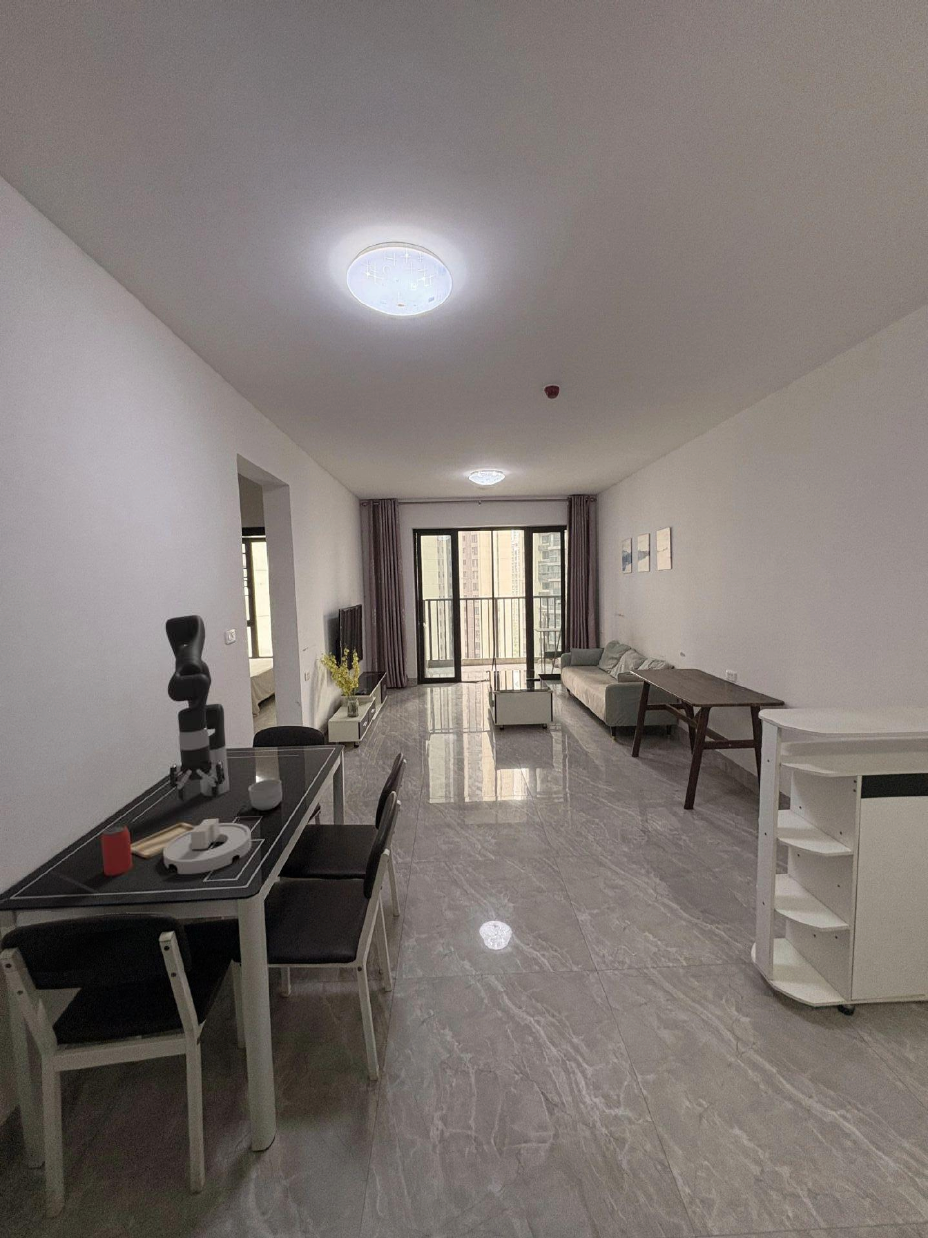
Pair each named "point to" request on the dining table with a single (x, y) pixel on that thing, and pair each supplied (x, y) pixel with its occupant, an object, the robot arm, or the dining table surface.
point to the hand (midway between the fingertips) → (199, 799)
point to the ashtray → (203, 861)
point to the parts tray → (159, 840)
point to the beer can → (116, 850)
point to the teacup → (265, 794)
